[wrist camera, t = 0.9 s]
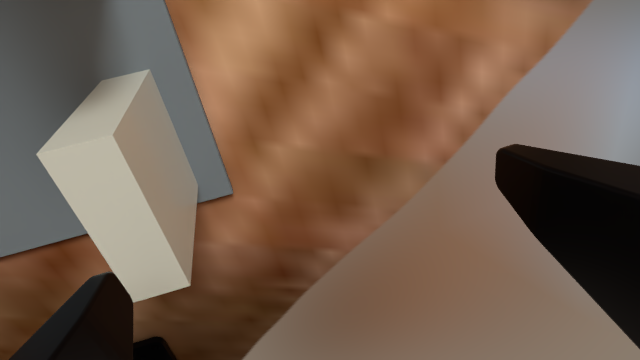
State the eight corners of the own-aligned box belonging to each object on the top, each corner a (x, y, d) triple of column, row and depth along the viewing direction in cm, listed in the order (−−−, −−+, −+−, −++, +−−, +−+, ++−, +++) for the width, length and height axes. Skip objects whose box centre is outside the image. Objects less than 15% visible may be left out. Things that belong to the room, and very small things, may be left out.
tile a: (198, 185, 20) (190, 285, 14) (157, 196, 19) (132, 303, 13) (149, 69, 16) (112, 134, 10) (100, 80, 16) (34, 154, 10)
